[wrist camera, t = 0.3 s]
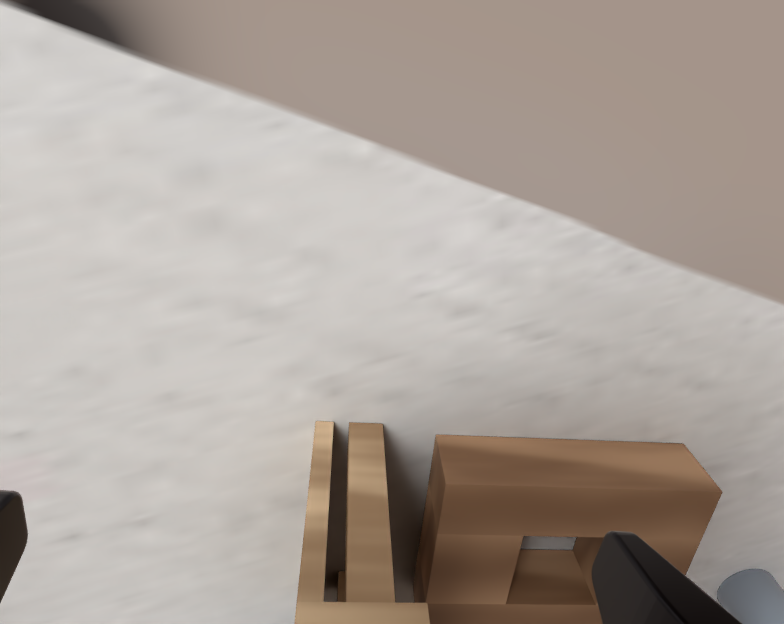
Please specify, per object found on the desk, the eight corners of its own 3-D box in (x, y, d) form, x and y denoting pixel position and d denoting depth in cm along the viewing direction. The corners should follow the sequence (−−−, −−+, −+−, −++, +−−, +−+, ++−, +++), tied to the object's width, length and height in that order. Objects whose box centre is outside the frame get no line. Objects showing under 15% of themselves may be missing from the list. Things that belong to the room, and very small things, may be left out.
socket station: (625, 593, 32) (729, 809, 23) (309, 590, 30) (289, 820, 21) (686, 435, 27) (849, 629, 18) (315, 421, 25) (294, 626, 16)
